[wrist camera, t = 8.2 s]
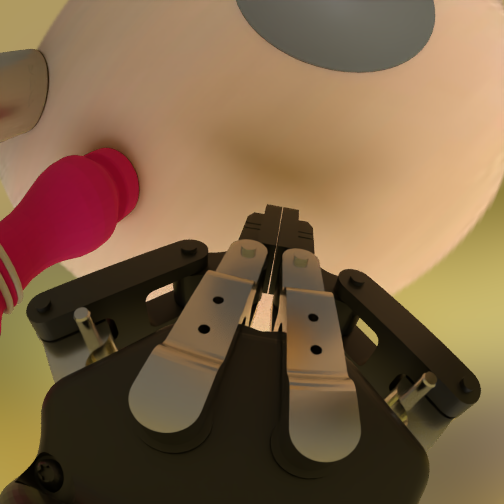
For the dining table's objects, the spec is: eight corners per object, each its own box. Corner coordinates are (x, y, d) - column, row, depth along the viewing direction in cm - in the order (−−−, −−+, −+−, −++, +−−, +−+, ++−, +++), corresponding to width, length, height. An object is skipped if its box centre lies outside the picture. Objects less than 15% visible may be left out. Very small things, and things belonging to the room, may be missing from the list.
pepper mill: (79, 138, 18) (-121, 273, 2) (147, 146, 18) (-106, 343, 1) (83, 212, 22) (-65, 363, 6) (145, 229, 22) (-12, 434, 5)
